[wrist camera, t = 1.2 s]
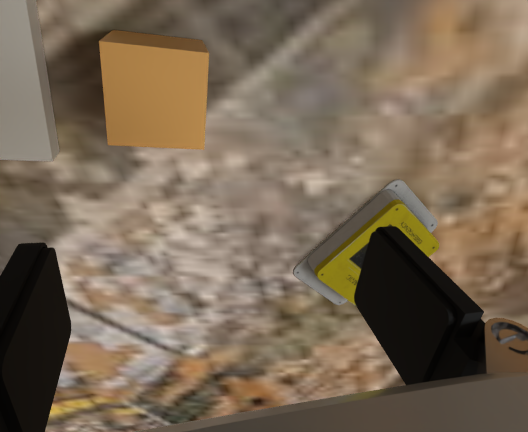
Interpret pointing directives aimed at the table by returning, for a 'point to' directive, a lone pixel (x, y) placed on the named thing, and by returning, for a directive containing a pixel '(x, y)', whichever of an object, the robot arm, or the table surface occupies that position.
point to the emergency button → (365, 241)
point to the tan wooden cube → (154, 90)
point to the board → (24, 86)
